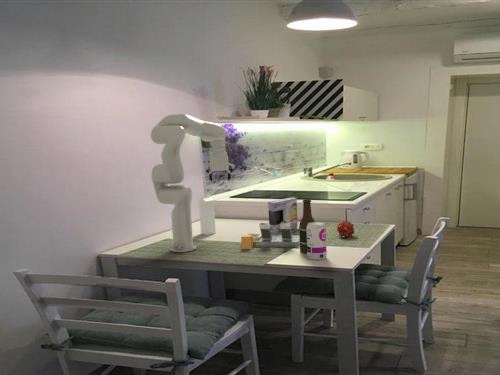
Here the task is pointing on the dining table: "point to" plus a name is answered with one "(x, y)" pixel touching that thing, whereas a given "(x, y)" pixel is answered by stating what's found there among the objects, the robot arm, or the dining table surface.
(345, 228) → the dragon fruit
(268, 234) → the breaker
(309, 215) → the beer bottle
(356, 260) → the dining table surface
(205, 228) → the milk
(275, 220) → the cake pan box
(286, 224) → the block
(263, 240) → the breaker panel
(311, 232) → the supplement can
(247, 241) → the orange rectangular block
